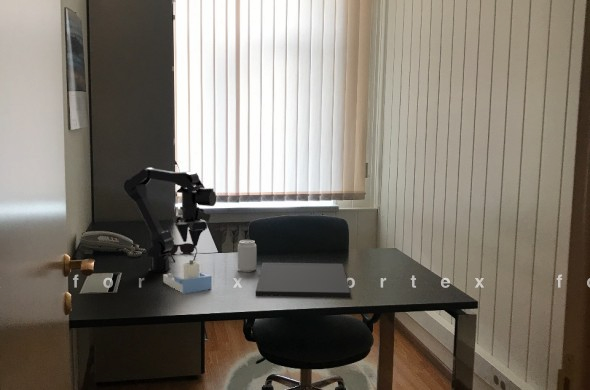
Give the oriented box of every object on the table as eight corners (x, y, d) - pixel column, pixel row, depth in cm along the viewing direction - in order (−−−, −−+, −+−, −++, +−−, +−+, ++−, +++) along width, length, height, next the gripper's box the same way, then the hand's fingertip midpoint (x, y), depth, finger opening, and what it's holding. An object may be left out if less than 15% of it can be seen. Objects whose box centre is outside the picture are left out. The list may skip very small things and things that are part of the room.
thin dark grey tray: (342, 269, 259) (262, 268, 259) (342, 263, 259) (262, 262, 259) (349, 299, 219) (255, 297, 219) (350, 292, 219) (255, 291, 219)
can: (253, 273, 249) (253, 243, 248) (235, 271, 251) (235, 242, 249) (258, 268, 256) (258, 239, 255) (240, 267, 258) (240, 238, 256)
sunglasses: (193, 253, 283) (193, 242, 283) (201, 261, 269) (201, 249, 268) (163, 255, 279) (163, 244, 278) (169, 263, 264) (169, 251, 263)
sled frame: (163, 282, 235) (163, 269, 234) (190, 278, 241) (190, 265, 240) (183, 294, 220) (183, 280, 220) (211, 289, 227) (211, 275, 226)
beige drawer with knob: (183, 288, 228) (183, 260, 226) (195, 286, 230) (194, 259, 229) (188, 290, 225) (187, 262, 223) (199, 288, 227) (199, 261, 226)
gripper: (219, 206, 240) (219, 246, 242) (197, 199, 255) (198, 237, 257) (192, 208, 234) (193, 249, 236) (172, 201, 249) (172, 240, 251)
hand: (190, 244), depth 245 cm, fingers open, 9 cm apart
